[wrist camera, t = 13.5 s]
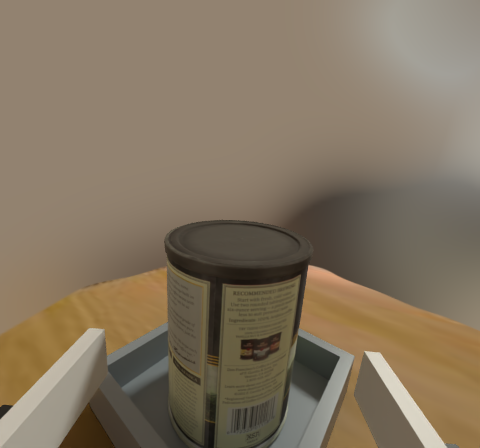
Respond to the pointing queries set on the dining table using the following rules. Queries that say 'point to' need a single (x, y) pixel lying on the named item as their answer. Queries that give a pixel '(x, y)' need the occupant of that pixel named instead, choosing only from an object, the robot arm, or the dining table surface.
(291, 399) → the tray
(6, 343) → the dining table surface
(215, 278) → the coffee can
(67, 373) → the robot arm
